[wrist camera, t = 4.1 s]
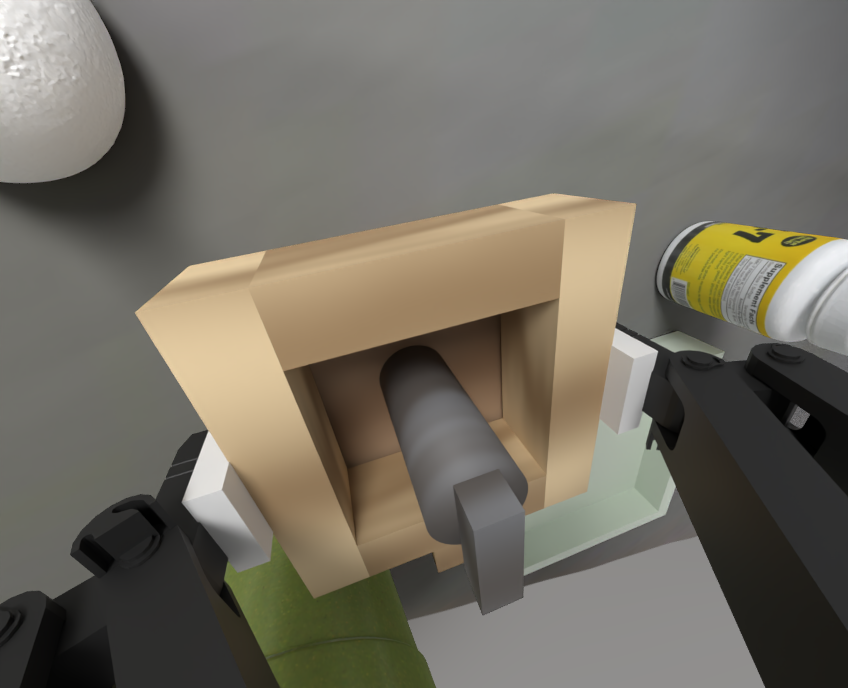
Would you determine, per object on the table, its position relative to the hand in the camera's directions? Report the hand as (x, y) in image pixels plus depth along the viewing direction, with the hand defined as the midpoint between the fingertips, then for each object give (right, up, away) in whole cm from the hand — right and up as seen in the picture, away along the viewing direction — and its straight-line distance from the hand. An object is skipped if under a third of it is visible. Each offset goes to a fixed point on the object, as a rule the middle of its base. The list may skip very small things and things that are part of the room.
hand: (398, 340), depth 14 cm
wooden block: (-1, +1, +2) cm, 3 cm away
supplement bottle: (+17, +5, +6) cm, 18 cm away
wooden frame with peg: (+1, -1, -2) cm, 3 cm away
